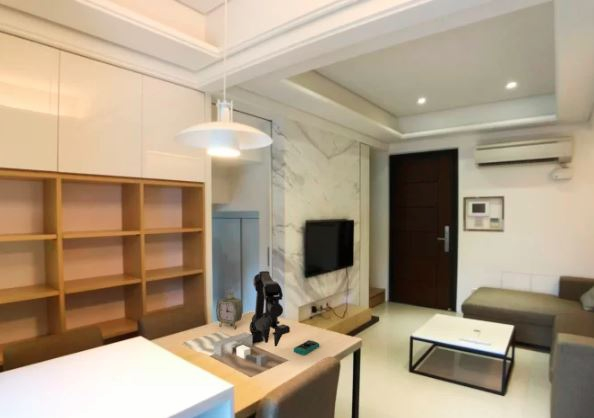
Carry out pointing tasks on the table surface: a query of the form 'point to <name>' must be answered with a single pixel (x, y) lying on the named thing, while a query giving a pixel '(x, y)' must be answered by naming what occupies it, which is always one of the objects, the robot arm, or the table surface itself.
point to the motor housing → (231, 344)
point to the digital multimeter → (306, 347)
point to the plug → (245, 353)
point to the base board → (234, 361)
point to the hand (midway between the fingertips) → (271, 344)
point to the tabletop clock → (229, 309)
